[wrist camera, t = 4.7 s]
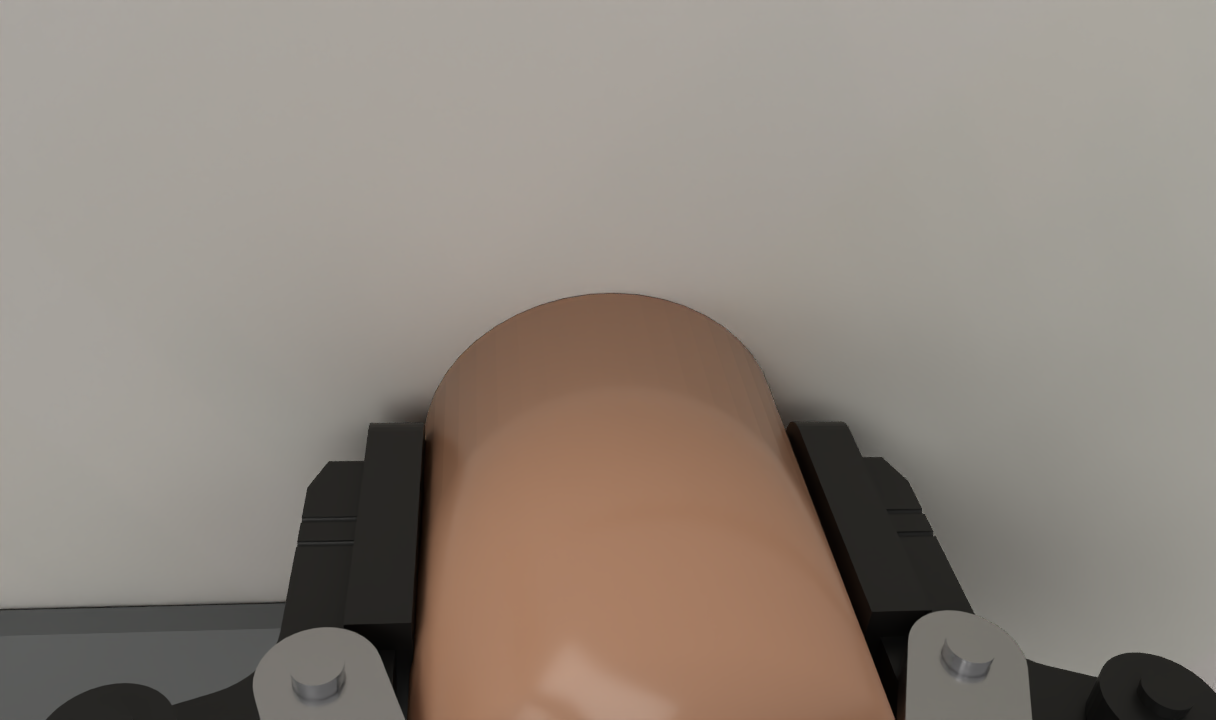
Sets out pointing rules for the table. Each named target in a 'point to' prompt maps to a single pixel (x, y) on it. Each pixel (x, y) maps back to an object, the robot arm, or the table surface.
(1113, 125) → the table surface
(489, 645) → the tan rounded cylinder
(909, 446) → the table surface
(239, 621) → the mat
